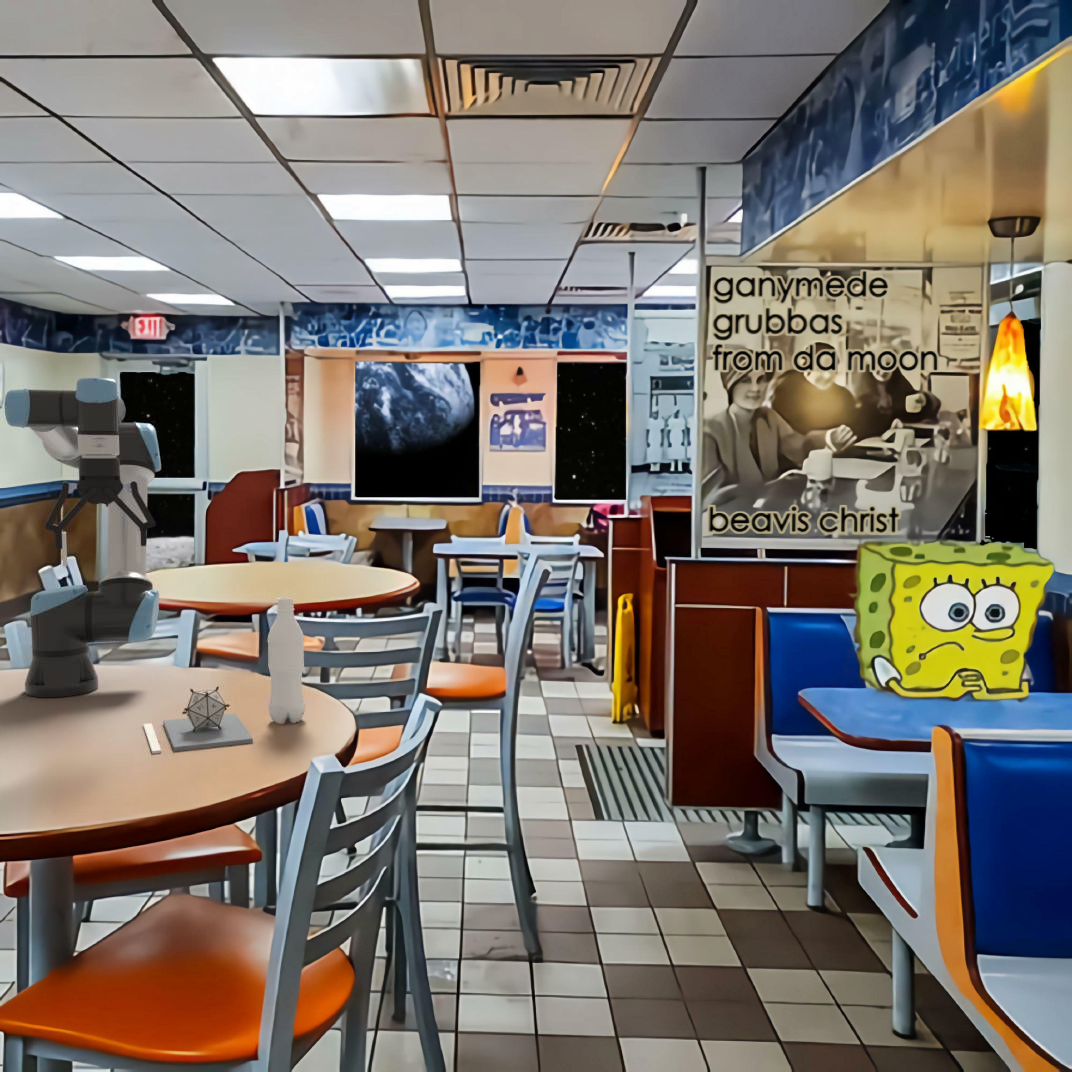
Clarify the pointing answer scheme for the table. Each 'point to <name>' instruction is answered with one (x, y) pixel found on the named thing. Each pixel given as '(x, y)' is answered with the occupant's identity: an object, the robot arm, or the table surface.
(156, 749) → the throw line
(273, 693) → the water bottle
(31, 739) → the table surface
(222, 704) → the game die
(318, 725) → the table surface
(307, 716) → the table surface
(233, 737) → the mat
